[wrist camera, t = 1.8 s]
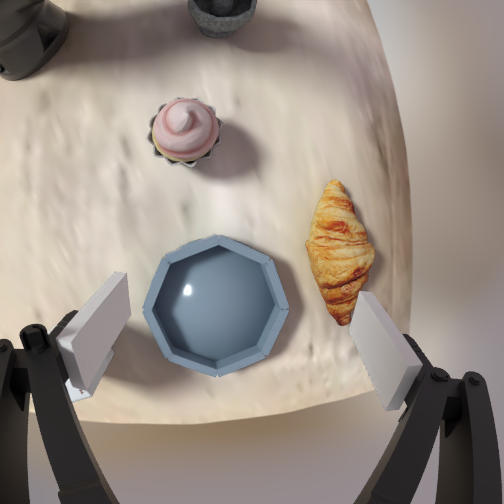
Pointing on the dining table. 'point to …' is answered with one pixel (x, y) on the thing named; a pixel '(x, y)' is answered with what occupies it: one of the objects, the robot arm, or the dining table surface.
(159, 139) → the cupcake
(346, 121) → the dining table surface
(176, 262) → the octagonal dish
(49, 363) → the robot arm
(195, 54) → the dining table surface
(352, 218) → the croissant
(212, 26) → the mortar and pestle
